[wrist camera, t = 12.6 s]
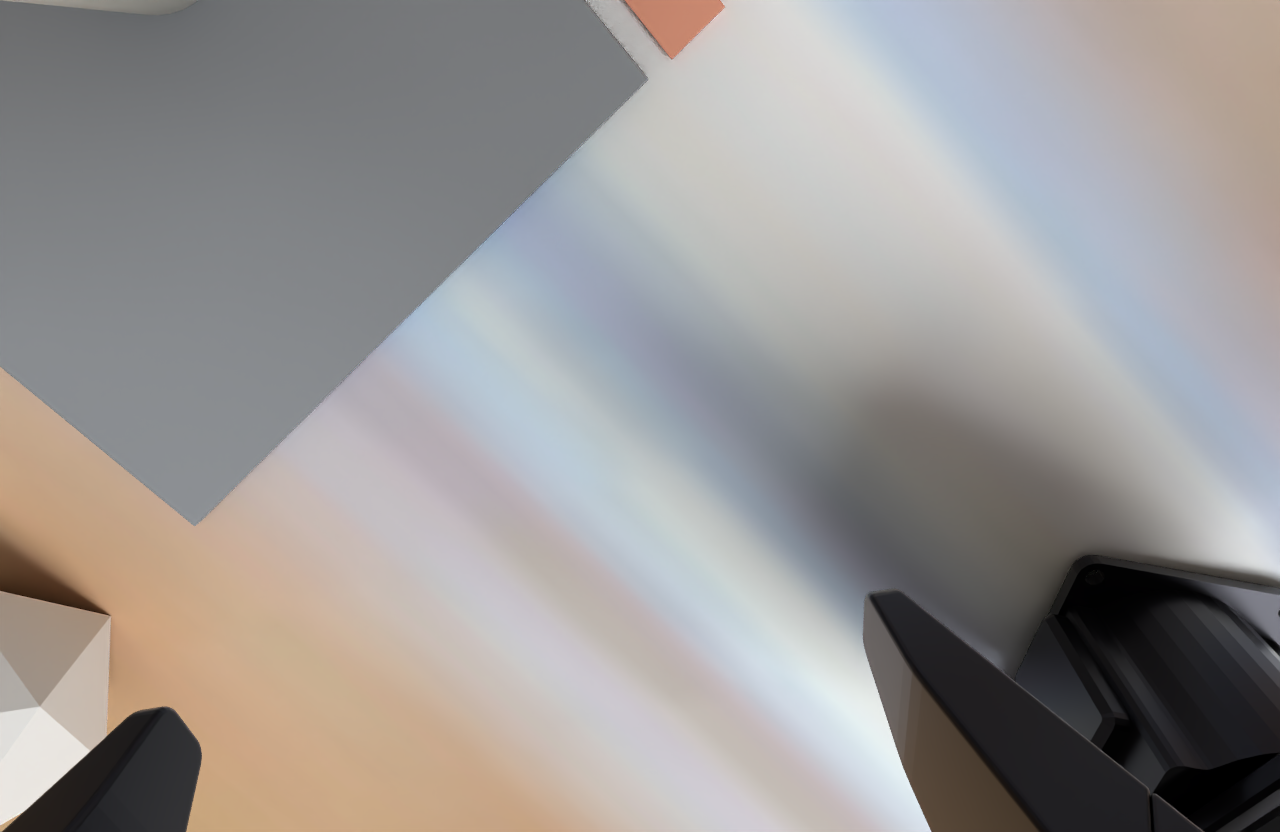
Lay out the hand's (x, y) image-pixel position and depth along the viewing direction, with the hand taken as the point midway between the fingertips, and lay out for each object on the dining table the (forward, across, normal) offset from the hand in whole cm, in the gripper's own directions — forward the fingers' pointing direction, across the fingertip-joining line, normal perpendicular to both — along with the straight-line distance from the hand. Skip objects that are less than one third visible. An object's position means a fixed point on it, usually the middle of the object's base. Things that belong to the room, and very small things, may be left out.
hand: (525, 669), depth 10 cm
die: (+15, +21, +11) cm, 28 cm away
